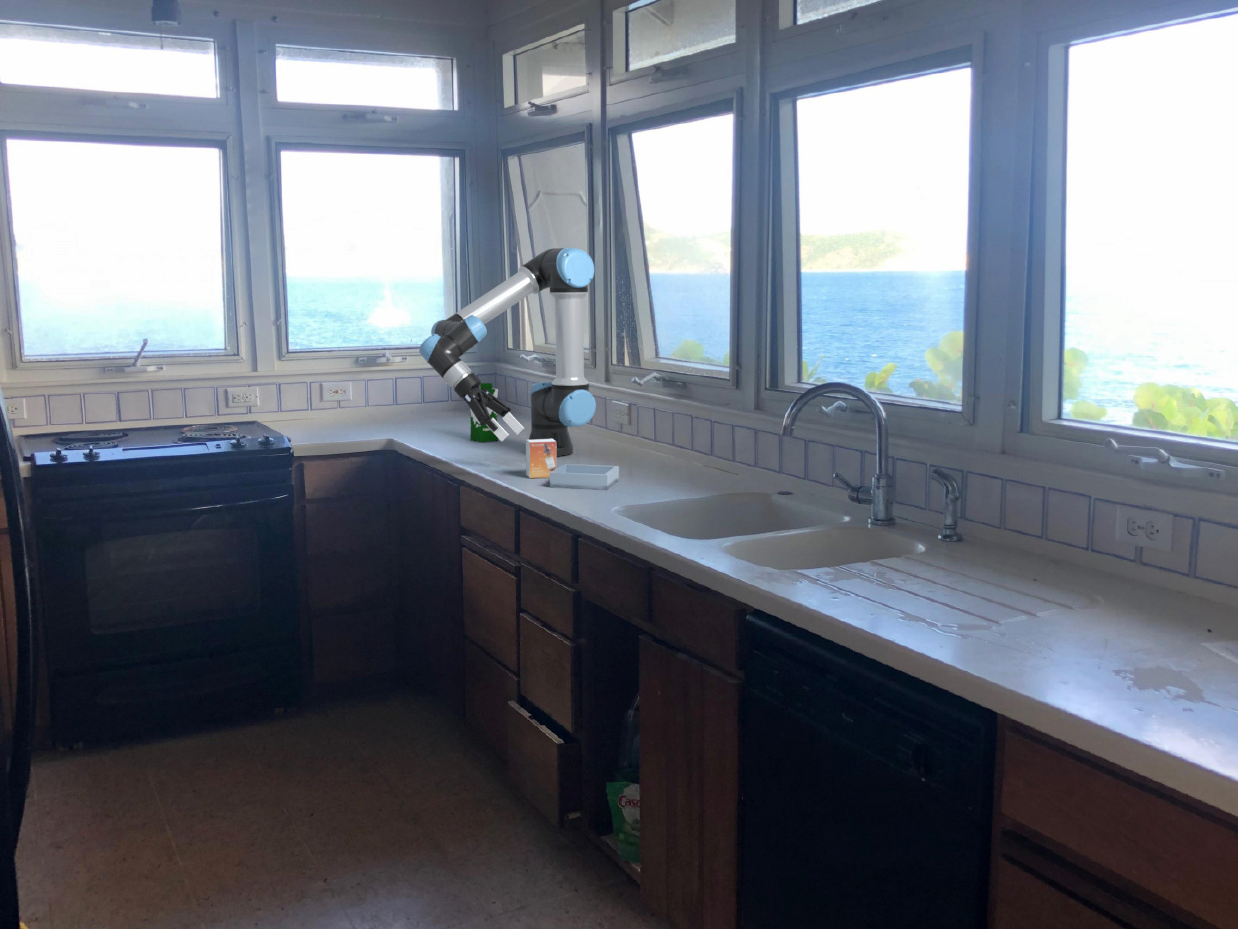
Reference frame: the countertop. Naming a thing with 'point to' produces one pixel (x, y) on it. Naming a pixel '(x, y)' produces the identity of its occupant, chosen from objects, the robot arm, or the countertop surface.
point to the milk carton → (484, 432)
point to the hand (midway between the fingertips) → (513, 434)
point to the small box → (541, 457)
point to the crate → (584, 476)
